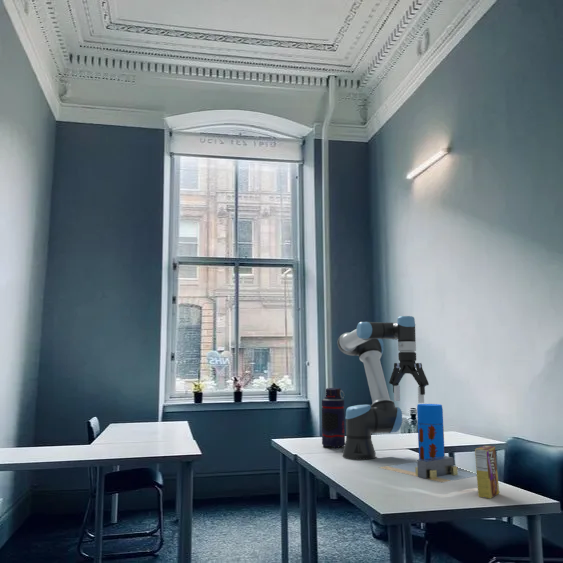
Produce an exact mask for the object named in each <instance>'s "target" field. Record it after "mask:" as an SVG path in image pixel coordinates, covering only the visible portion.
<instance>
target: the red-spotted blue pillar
mask: <svg viewBox="0 0 563 563" xmlns="http://www.w3.org/2000/svg"><path fill="white" fill-rule="evenodd" d="M416 406H417V407H416V411H417V412H416V414H417V415H416V416H417V440H418V444H417V445H418V460H422V459H429V458H435V457H442V456H446V453H445V434H444V410H443V405H442V404H438V403H418V404H417V405H416Z"/></svg>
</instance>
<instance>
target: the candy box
mask: <svg viewBox="0 0 563 563" xmlns="http://www.w3.org/2000/svg"><path fill="white" fill-rule="evenodd" d="M496 451H497V450H496V446H493V445H482V446H479V447H476V448H475V449H474V455H475V456H474V457H475V469H476V474H477V476H476V482H477V495H478V496H479V498H483V497H486V498H485V499H489V498H490V499H492V498H494V497H495V496H497V495H498V494H500V488H499V476H498V475H499V474H498V463H497V453H496Z"/></svg>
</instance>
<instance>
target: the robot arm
mask: <svg viewBox="0 0 563 563" xmlns="http://www.w3.org/2000/svg"><path fill="white" fill-rule="evenodd" d="M383 340H393V341H394V340H396V341H397V347H398V361H399V362H394V363H393V369H392V373H391V375H390V377H389V378H390V379H389V382H388V384H389V385H392V392H393V398H394V399H391V398H390V394H389V391H388V386H387V382H386V379H385V375H384V370H383V367H382V366H383V365H382V364H381V363H382V362H381V358H382V355H383V354H384V346H385V345H384V341H383ZM416 341H417V340H416V320H415V317H414V316H410V315H401V316H398V317H397V320H396V322H391V321H389V322H387V321H386V322H382V321H381V322H379V321H378V322H377V321H375V322H374V321H360V322H358V323H357V325H356V329H354V330H352V331H351V332H344V333H342V334H341V335H340V336H339V337H338V339H337V344H336V345H337V347H338V349H339V351H340V352H342V353H343V354H345V355H348V356H353V357H354V356H358V358H359V361H360V362H362V363H363V366H364V372H365V376H366V380H367V385H368V388H369V394H370V397H371V402H372V404H357V405H352V406H348V407H347V408H346V411H345V445H344V447H343V450H342V457H343V458H344V459H345V458H346V459H349V460H350V459H351V460H373V459H375V458H376V456H377V455H376V451H375V448H374V444H373V441H372V434H391V433H397V432H399V431H400V429H401V428H402V424H403V411H402V409H401V408H400V407H399V406H396V405H395V402H401V394H400V382H401V380H403V377H404V376H405V375H406V374H409V375H411V376H412V377H413V379H414V380H415V381H416V383H417V385H418V387H417V398H418V404H425V395H426V388H425V387H426V386H429V381H428V378H427V376H426V373H425V371H424V370H423V369H424V368H423V364H422V362H416V361H417V353H416V351H417V343H416ZM393 400H394V401H393Z"/></svg>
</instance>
